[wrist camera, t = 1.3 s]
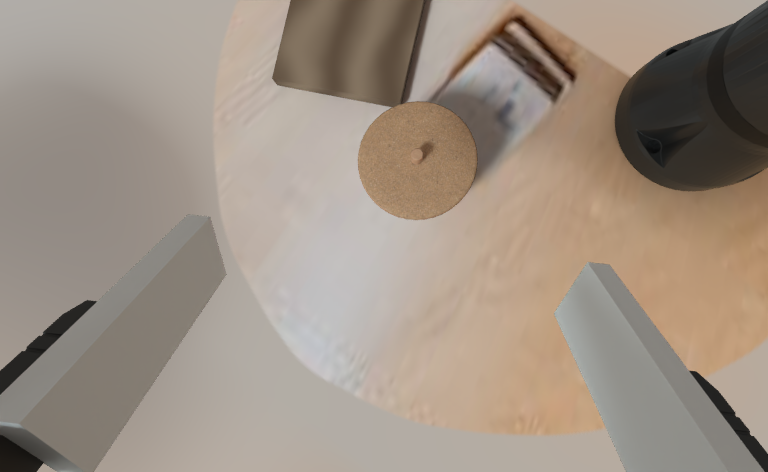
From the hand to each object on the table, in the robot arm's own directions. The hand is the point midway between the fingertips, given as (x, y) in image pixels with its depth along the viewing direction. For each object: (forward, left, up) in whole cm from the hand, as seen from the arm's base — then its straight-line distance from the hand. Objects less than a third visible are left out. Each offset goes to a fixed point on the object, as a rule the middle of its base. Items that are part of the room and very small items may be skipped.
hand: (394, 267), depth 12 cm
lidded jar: (+1, -9, -24) cm, 26 cm away
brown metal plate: (+12, -24, -24) cm, 36 cm away
